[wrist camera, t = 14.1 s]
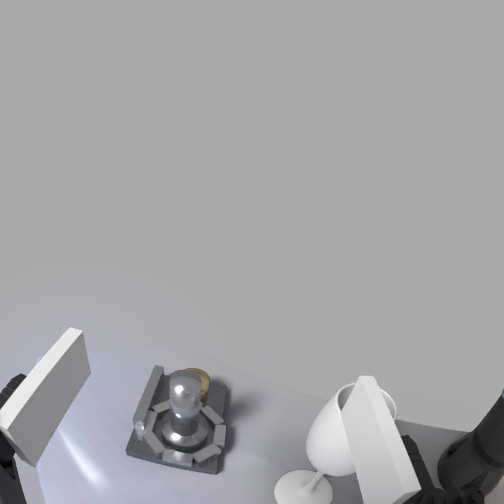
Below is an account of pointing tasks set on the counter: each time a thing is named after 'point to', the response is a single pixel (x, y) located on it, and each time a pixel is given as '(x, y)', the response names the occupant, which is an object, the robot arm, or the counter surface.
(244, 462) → the counter surface
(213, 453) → the carrier plate
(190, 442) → the flanged metal post
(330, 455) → the wineglass
